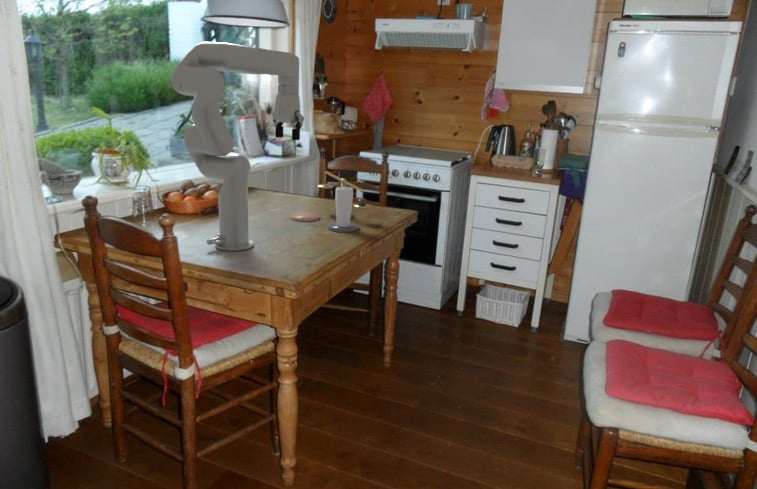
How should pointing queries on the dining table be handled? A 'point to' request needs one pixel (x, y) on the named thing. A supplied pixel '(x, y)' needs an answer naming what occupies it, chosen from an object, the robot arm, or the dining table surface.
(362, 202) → the balance
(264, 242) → the dining table surface
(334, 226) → the dish slate
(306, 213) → the pink dome
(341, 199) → the drinking glass
